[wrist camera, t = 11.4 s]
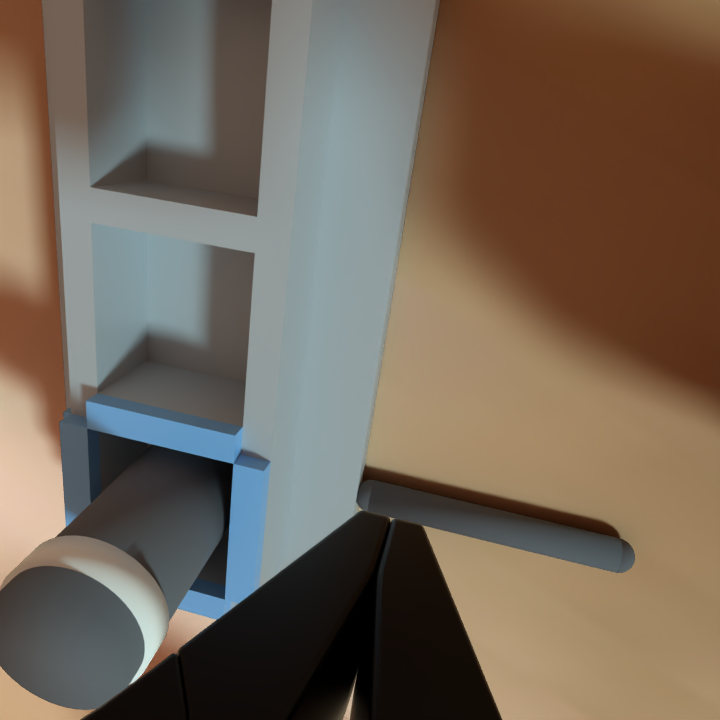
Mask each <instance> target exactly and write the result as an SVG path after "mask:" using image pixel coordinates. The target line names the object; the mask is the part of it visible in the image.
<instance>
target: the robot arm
mask: <svg viewBox="0 0 720 720" xmlns="http://www.w3.org/2000/svg"><path fill="white" fill-rule="evenodd" d="M356 676H357V677H356ZM355 680H356V683H355ZM354 683H355V688H354V694H353V701H352V707H351V715H350V720H502V718H501V715H500V713H499V711H498V708H497V706H496V703H495V701H494V698H493V696H492V693H491V691H490V689H489V686H488V684H487V681H486V679H485V676H484V674H483V671H482V669H481V667H480V664H479V662H478V659H477V657H476V654H475V652H474V649H473V647H472V645H471V642H470V640H469V637H468V635H467V632H466V630H465V627H464V625H463V622H462V620H461V618H460V615H459V613H458V610H457V608H456V605H455V603H454V600H453V598H452V596H451V593H450V591H449V588H448V586H447V583H446V581H445V578H444V576H443V574H442V571H441V569H440V566H439V564H438V561H437V559H436V556H435V554H434V552H433V549H432V547H431V544H430V542H429V539H428V537H427V534H426V532H425V530H424V528H423V526H422V525H421V524H418V523H414V522H410V521H406V520H401V519H396V518H395V519H393V520H392V521H391V523H390V518H389V517H388V516H385V515H381V514H377V513H373V512H369V511H364V510H362V511H359V512H358V513H356V514H355V515H354V516H352V517H351V518H350V519H348V520H347V521H346V522H344V523H343V524H342V525H341V526H339V527H338V528H337V529H335V530H334V531H333V532H331V533H330V534H329V535H327V536H326V537H325V538H324V539H322V540H321V541H320V542H318V543H317V544H316V545H314V546H313V547H312V548H310V549H309V550H308V551H307V552H305V553H304V554H303V555H301V556H300V557H299V558H297V559H296V560H295V561H293V562H292V563H291V564H289V565H288V566H287V567H286V568H284V569H283V570H282V571H280V572H279V573H278V574H276V575H275V576H274V577H272V578H271V579H270V580H269V581H267V582H266V583H265V584H263V585H262V586H261V587H259V588H258V589H257V590H255V591H254V592H253V593H252V594H250V595H249V596H248V597H246V598H245V599H244V600H242V601H241V602H240V603H238V604H237V605H236V606H234V607H233V608H232V609H231V610H229V611H228V612H227V613H225V614H224V615H223V616H221V617H220V618H219V619H217V620H216V621H215V622H214V623H212V624H211V625H210V626H208V627H207V628H206V629H204V630H203V631H202V632H200V633H199V634H198V635H196V636H195V637H194V638H193V639H191V640H190V641H189V642H187V643H186V644H185V645H183V646H182V647H181V648H180V649H179V650H178V653H177V654H175V653H173V654H171V655H170V656H168V657H167V658H166V659H165V660H163V661H162V662H161V663H159V664H158V665H157V666H155V667H154V668H153V669H151V670H150V671H149V672H148V673H146V674H145V675H143V676H142V677H141V678H139V679H138V680H137V681H135V682H134V683H132V684H131V685H130V686H128V687H127V688H125V689H124V690H123V691H121V692H120V693H119V694H117V695H116V696H114V697H113V698H112V699H110V700H109V701H107V702H106V703H105V704H103V705H102V706H101V707H99V708H98V709H96V710H95V711H93V712H91V713H90V714H88V715H87V716H85V717H84V718H82V719H81V720H343V717H344V714H345V712H346V709H347V706H348V703H349V700H350V697H351V694H352V691H353V687H354Z"/></svg>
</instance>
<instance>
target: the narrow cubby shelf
mask: <svg viewBox="0 0 720 720" xmlns="http://www.w3.org/2000/svg"><path fill="white" fill-rule="evenodd" d="M439 4H440V0H42V13H43V30H44V46H45V63H46V80H47V97H48V113H49V130H50V147H51V163H52V180H53V197H54V213H55V230H56V247H57V263H58V280H59V297H60V314H61V330H62V347H63V364H64V380H65V397H66V410H65V411H64V412H63V417H64V419H63V420H61V421H60V422H59V426H60V442H61V457H62V472H63V487H64V503H65V518H66V527H67V526H68V525H69V524H70V523H71V522H72V521H73V520H74V519H75V518H76V517H77V516H78V515H79V514H80V513H81V512H82V511H83V510H84V509H85V508H86V507H88V506H89V505H90V504H91V503H92V502H93V501H94V500H95V499H96V498H97V497H98V496H99V495H100V494H101V493H102V492H103V491H104V490H105V489H106V488H107V487H108V486H109V485H110V484H111V483H112V482H113V481H114V480H116V479H117V478H118V477H119V476H120V475H121V474H122V473H123V472H124V471H125V470H126V469H127V468H128V467H129V466H130V465H131V464H132V463H133V462H134V461H135V460H136V459H137V458H138V457H139V456H140V455H141V454H142V453H144V452H145V451H146V450H147V449H148V448H149V447H150V446H151V445H152V444H153V445H157V446H161V447H166V448H170V449H174V450H178V451H182V452H186V453H190V454H195V455H199V456H203V457H207V458H211V459H215V460H219V461H223V462H228V463H232V464H233V478H232V494H231V510H230V525H229V527H228V529H227V530H226V532H225V534H224V535H223V537H222V538H221V540H220V542H219V543H218V545H217V546H216V548H215V549H214V551H213V553H212V554H211V556H210V557H209V559H208V561H207V562H206V564H205V565H204V567H203V568H202V570H201V572H200V573H199V575H198V576H197V578H196V580H195V581H194V583H193V584H192V586H191V587H190V589H189V591H188V592H187V594H186V595H185V597H184V599H183V600H182V602H181V603H180V605H179V606H178V609H181V610H185V611H188V612H192V613H195V614H199V615H202V616H206V617H209V618H213V619H219V618H220V617H221V616H223V615H224V614H225V613H227V612H228V611H229V610H230V609H232V608H233V607H234V606H236V605H237V604H238V603H240V602H241V601H242V600H244V599H245V598H246V597H248V596H249V595H250V594H252V593H253V592H254V591H255V590H257V589H258V588H259V587H261V586H262V585H263V584H265V583H266V582H267V581H269V580H270V579H271V578H272V577H274V576H275V575H276V574H278V573H279V572H280V571H282V570H283V569H284V568H286V567H287V566H288V565H289V564H291V563H292V562H293V561H295V560H296V559H297V558H299V557H300V556H301V555H303V554H304V553H305V552H307V551H308V550H309V549H310V548H312V547H313V546H314V545H316V544H317V543H318V542H320V541H321V540H322V539H324V538H325V537H326V536H327V535H329V534H330V533H331V532H333V531H334V530H335V529H337V528H338V527H339V526H341V525H342V524H343V523H344V522H346V521H347V520H348V519H350V518H351V517H352V516H354V515H355V514H356V513H357V510H358V504H357V502H356V498H357V493H358V489H359V486H360V484H361V483H362V479H363V473H364V467H365V461H366V454H367V448H368V442H369V436H370V430H371V424H372V417H373V411H374V405H375V399H376V393H377V387H378V380H379V374H380V368H381V362H382V356H383V350H384V343H385V337H386V331H387V325H388V319H389V313H390V306H391V300H392V294H393V288H394V282H395V276H396V270H397V263H398V257H399V251H400V245H401V239H402V233H403V226H404V220H405V214H406V208H407V202H408V196H409V189H410V183H411V177H412V171H413V165H414V159H415V152H416V146H417V140H418V134H419V128H420V122H421V115H422V109H423V103H424V97H425V91H426V85H427V78H428V72H429V66H430V60H431V54H432V48H433V41H434V35H435V29H436V23H437V17H438V11H439Z"/></svg>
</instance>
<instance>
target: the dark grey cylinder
mask: <svg viewBox="0 0 720 720" xmlns="http://www.w3.org/2000/svg"><path fill="white" fill-rule="evenodd" d="M232 478H233V464H232V463H228V462H223V461H219V460H215V459H211V458H207V457H203V456H199V455H195V454H190V453H186V452H182V451H178V450H174V449H170V448H166V447H161V446H157V445H153V444H152V445H151V446H150V447H149V448H148V449H147V450H146V451H145V452H144V453H142V454H141V455H140V456H139V457H138V458H137V459H136V460H135V461H134V462H133V463H132V464H131V465H130V466H129V467H128V468H127V469H126V470H125V471H124V472H123V473H122V474H121V475H120V476H119V477H118V478H117V479H116V480H114V481H113V482H112V483H111V484H110V485H109V486H108V487H107V488H106V489H105V490H104V491H103V492H102V493H101V494H100V495H99V496H98V497H97V498H96V499H95V500H94V501H93V502H92V503H91V504H90V505H89V506H88V507H86V508H85V509H84V510H83V511H82V512H81V513H80V514H79V515H78V516H77V517H76V518H75V519H74V520H73V521H72V522H71V523H70V524H69V525H68V526H67V527H66V528H65V529H64V530H63V531H62V532H61V533H60V534H58V535H57V536H56V537H55V538H53V539H50V540H48V541H46V542H44V543H42V544H41V545H39V546H38V547H37V548H36V549H35V550H34V551H33V552H32V553H31V554H29V555H28V556H27V557H26V558H25V559H24V560H23V561H22V562H21V563H20V564H19V565H18V566H17V567H16V568H15V569H14V570H13V571H12V572H10V574H9V575H8V576H7V577H6V578H5V580H4V581H3V583H2V585H1V588H0V666H1V667H2V668H3V670H4V671H5V672H6V673H7V674H8V675H9V676H10V677H11V678H12V679H13V680H14V681H16V682H17V683H18V684H19V685H21V686H22V687H23V688H25V689H26V690H28V691H29V692H31V693H32V694H34V695H36V696H38V697H40V698H42V699H44V700H46V701H48V702H51V703H53V704H56V705H59V706H63V707H67V708H72V709H81V710H89V709H98V708H99V707H101V706H102V705H103V704H105V703H106V702H107V701H109V700H110V699H112V698H113V697H114V696H116V695H117V694H119V693H120V692H121V691H123V690H124V689H125V688H127V687H128V686H129V684H131V683H133V682H135V681H136V680H137V679H138V678H139V677H140V676H141V675H142V674H143V673H144V671H145V669H146V668H147V666H148V665H149V663H150V661H151V660H152V658H153V657H154V655H155V653H156V652H157V650H158V648H159V647H160V645H161V644H162V642H163V640H164V638H165V637H166V634H167V631H168V627H169V621H170V619H171V618H172V616H173V614H174V613H175V611H176V610H177V608H178V606H179V605H180V603H181V602H182V600H183V599H184V597H185V595H186V594H187V592H188V591H189V589H190V587H191V586H192V584H193V583H194V581H195V580H196V578H197V576H198V575H199V573H200V572H201V570H202V568H203V567H204V565H205V564H206V562H207V561H208V559H209V557H210V556H211V554H212V553H213V551H214V549H215V548H216V546H217V545H218V543H219V542H220V540H221V538H222V537H223V535H224V534H225V532H226V530H227V529H228V527H229V525H230V510H231V494H232Z"/></svg>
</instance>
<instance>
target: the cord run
mask: <svg viewBox="0 0 720 720" xmlns="http://www.w3.org/2000/svg"><path fill="white" fill-rule="evenodd" d="M356 502H357V504H358V505H359V507H360V508H361V509H363V510H364V511H369V512H373V513H377V514H381V515H385V516H388V517H391V518H396V519H401V520H406V521H410V522H414V523H418V524H421V525H424V526H428V527H432V528H436V529H440V530H444V531H448V532H452V533H456V534H460V535H464V536H468V537H472V538H477V539H481V540H485V541H489V542H493V543H497V544H501V545H505V546H509V547H513V548H517V549H521V550H525V551H530V552H534V553H538V554H542V555H546V556H550V557H554V558H558V559H562V560H566V561H570V562H574V563H578V564H583V565H587V566H591V567H595V568H599V569H603V570H607V571H611V572H616V573H622V572H626V571H627V570H629V569H630V568H631V567H632V566H633V564H634V561H635V554H634V550H633V548H632V547H631V545H630V544H629V543H628V542H626V541H625V540H623V539H620V538H617V537H613V536H608V535H604V534H600V533H596V532H591V531H587V530H583V529H579V528H575V527H570V526H566V525H562V524H558V523H553V522H549V521H545V520H541V519H537V518H532V517H528V516H524V515H520V514H516V513H511V512H507V511H503V510H499V509H494V508H490V507H486V506H482V505H478V504H473V503H469V502H465V501H461V500H456V499H452V498H448V497H444V496H440V495H435V494H431V493H427V492H423V491H419V490H414V489H410V488H406V487H402V486H397V485H393V484H389V483H385V482H381V481H376V480H366V481H364V482H362V483H361V484H360V486H359V489H358V493H357V498H356Z"/></svg>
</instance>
